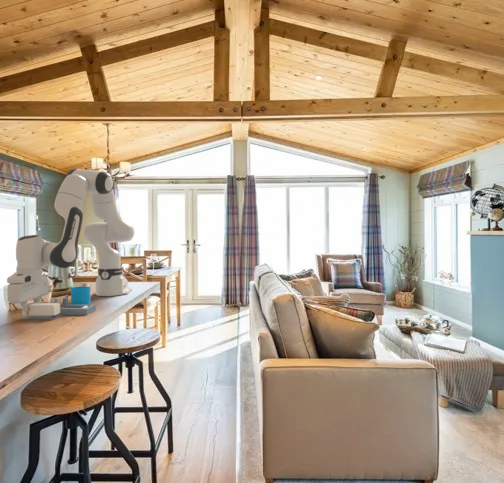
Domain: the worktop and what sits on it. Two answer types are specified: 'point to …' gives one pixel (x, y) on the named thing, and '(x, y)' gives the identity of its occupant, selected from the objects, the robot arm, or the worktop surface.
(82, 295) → the mug
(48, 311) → the beige rectangular block
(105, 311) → the worktop surface
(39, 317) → the pad
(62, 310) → the dispenser
